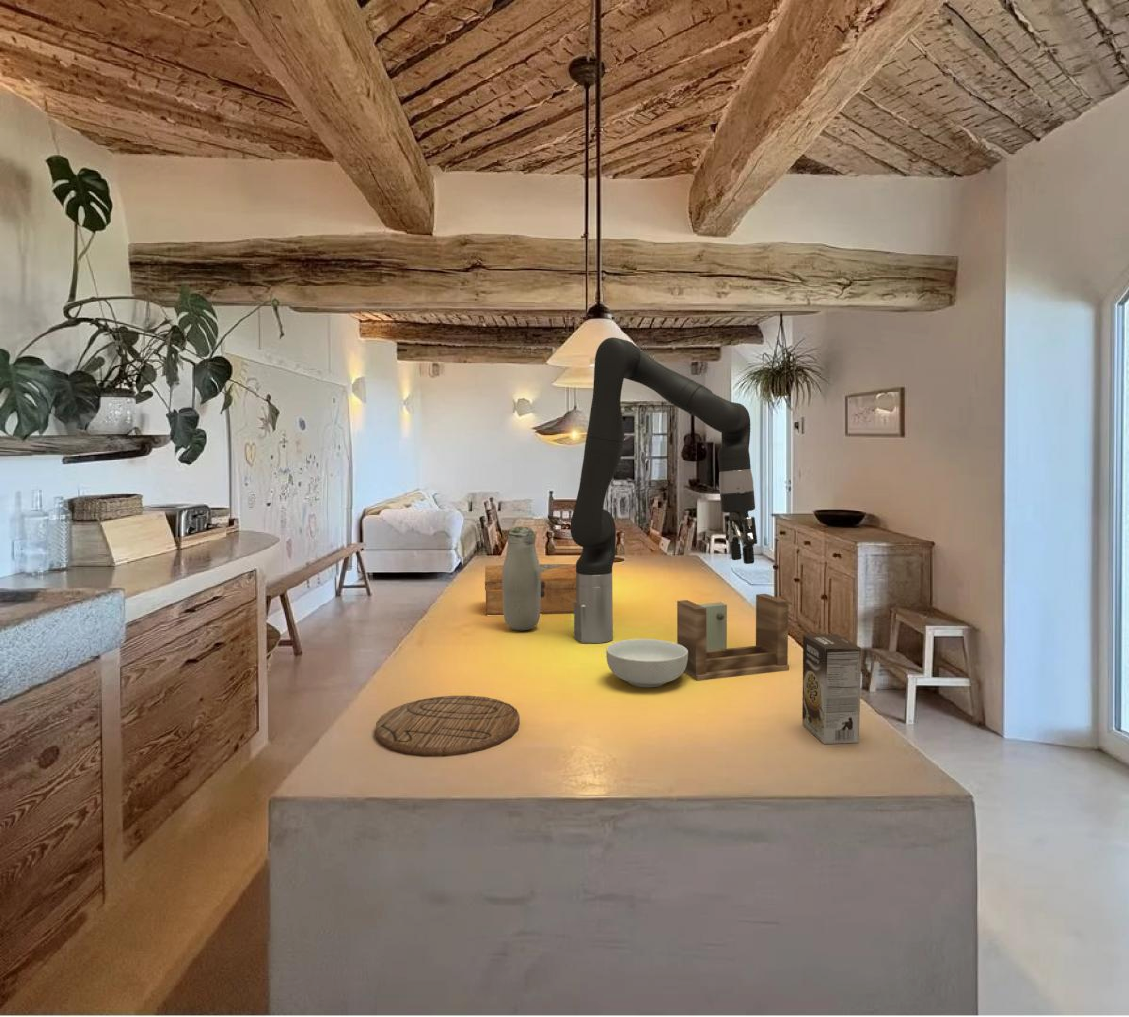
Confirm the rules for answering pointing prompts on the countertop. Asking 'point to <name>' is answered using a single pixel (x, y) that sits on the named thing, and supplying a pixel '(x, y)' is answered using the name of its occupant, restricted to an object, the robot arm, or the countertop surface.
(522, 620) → the grey green bottle
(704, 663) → the brown wooden stand
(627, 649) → the cereal bowl
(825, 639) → the coffee box
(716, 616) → the door panel
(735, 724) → the countertop surface
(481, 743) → the trivet
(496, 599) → the wooden box
